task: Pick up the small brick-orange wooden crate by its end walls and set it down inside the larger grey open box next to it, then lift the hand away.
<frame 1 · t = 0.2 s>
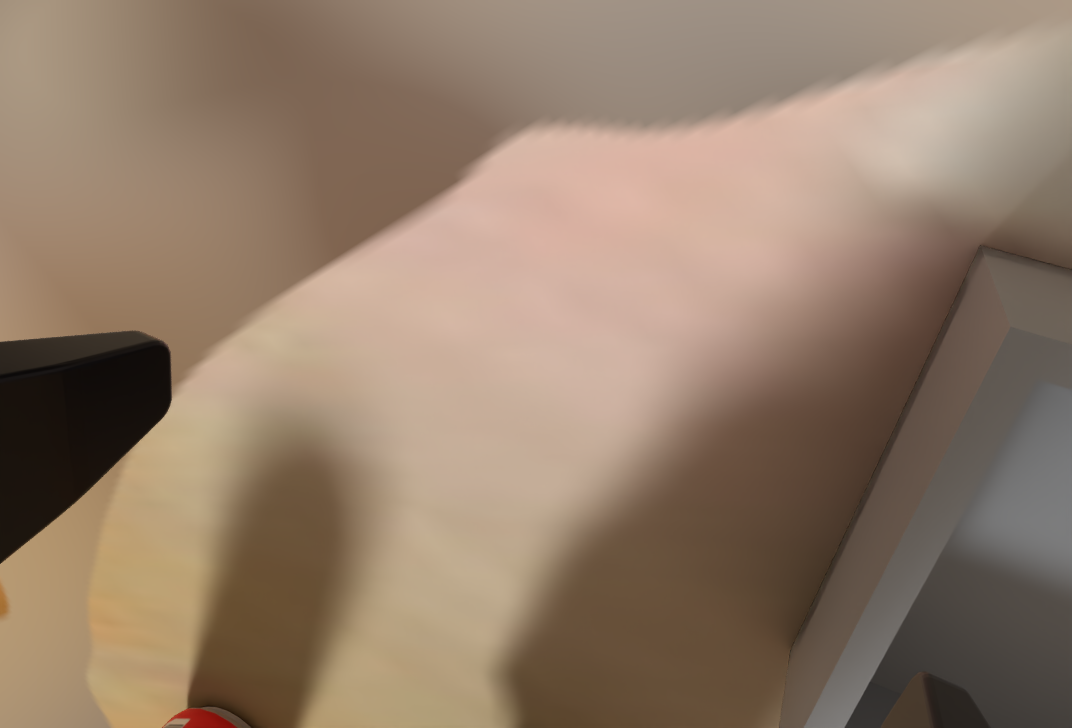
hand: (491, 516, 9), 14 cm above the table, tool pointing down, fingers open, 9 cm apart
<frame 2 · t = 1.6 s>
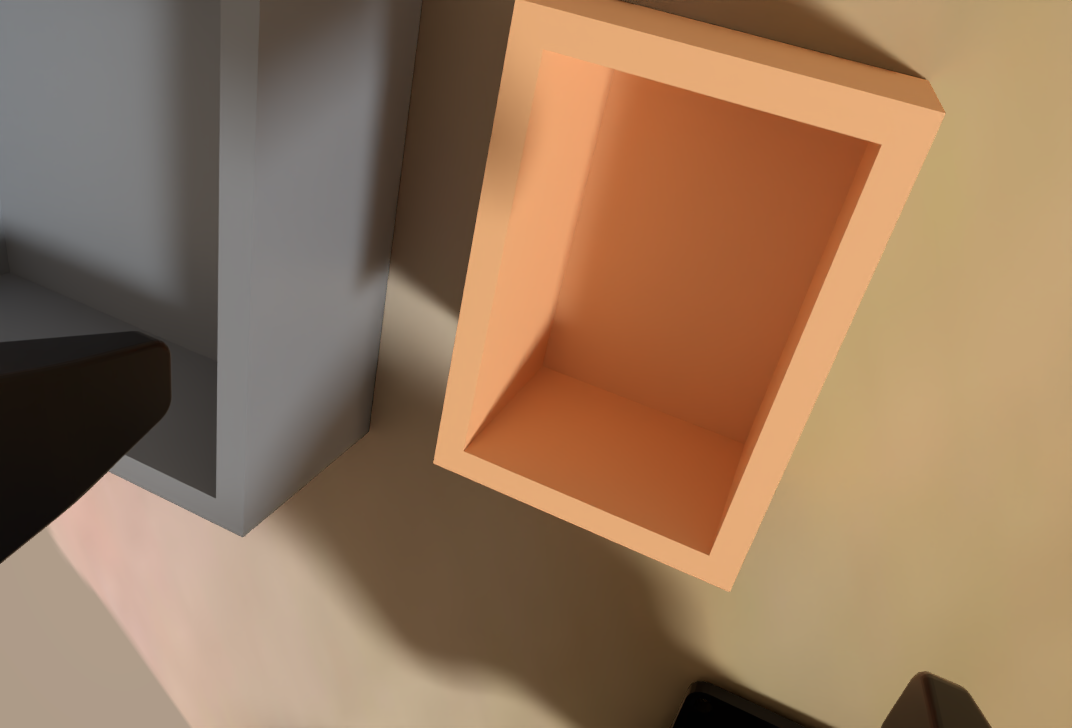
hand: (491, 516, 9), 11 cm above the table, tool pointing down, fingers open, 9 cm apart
orange crate: (693, 248, 18), on the table
grey open box: (177, 132, 22), on the table
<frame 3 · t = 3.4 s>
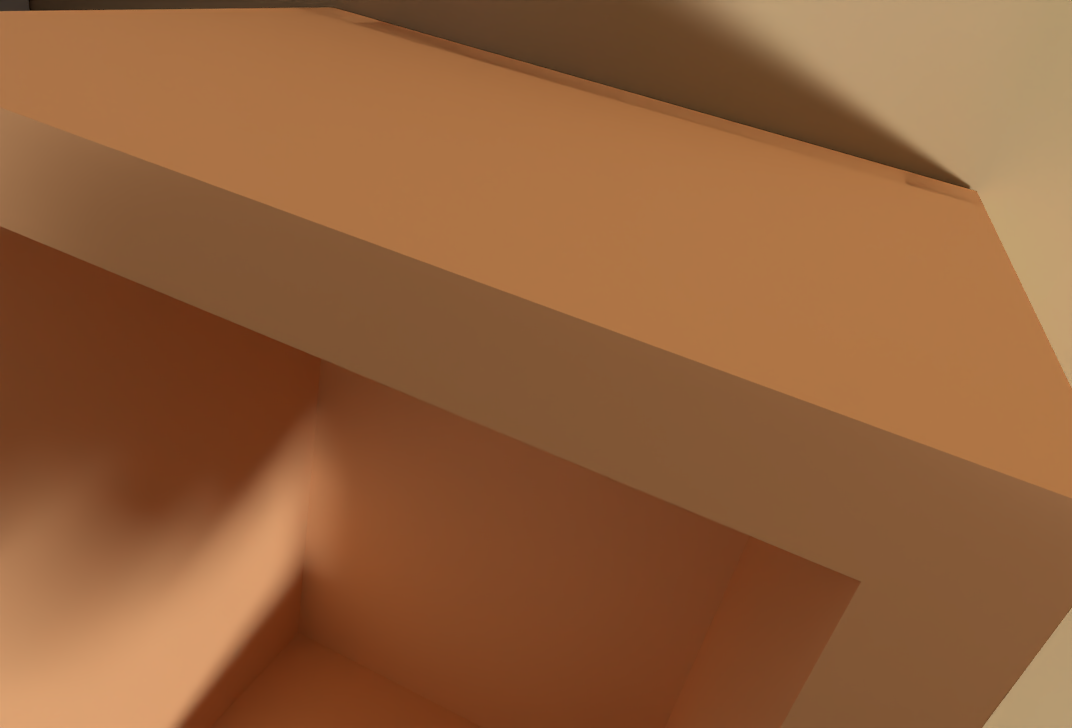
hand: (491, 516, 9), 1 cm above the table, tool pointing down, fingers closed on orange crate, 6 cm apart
orange crate: (527, 469, 10), on the table, touching gripper
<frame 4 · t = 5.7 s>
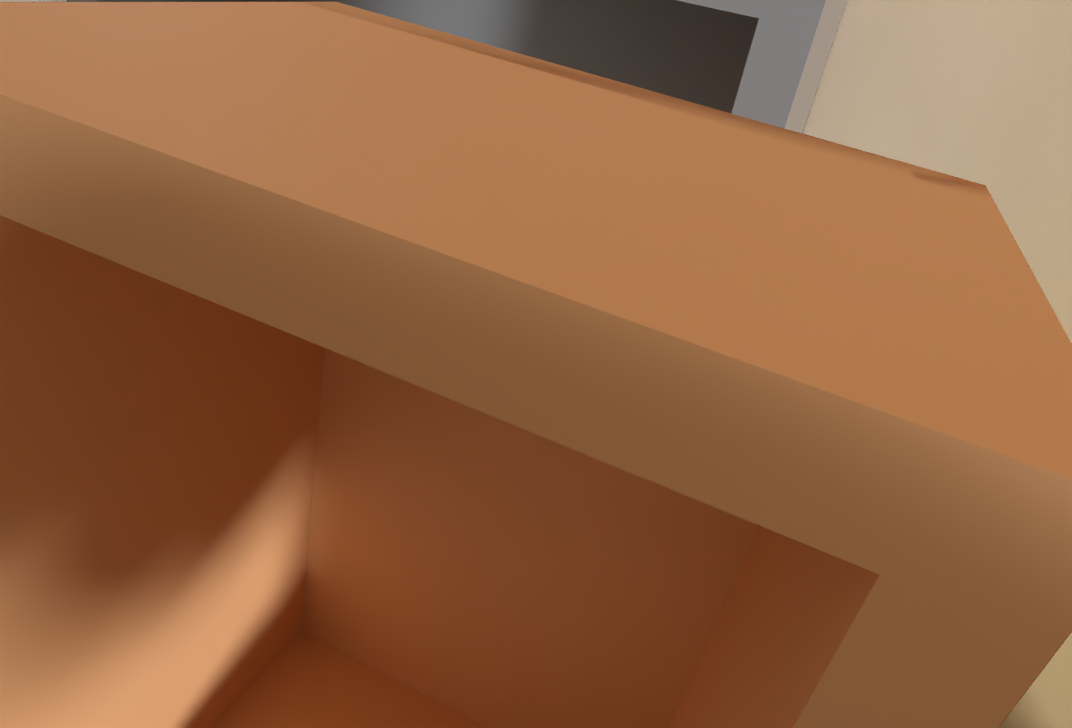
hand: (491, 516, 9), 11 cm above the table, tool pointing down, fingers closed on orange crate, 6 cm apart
orange crate: (531, 466, 10), point 10 cm above the table, touching gripper
grey open box: (476, 224, 20), on the table
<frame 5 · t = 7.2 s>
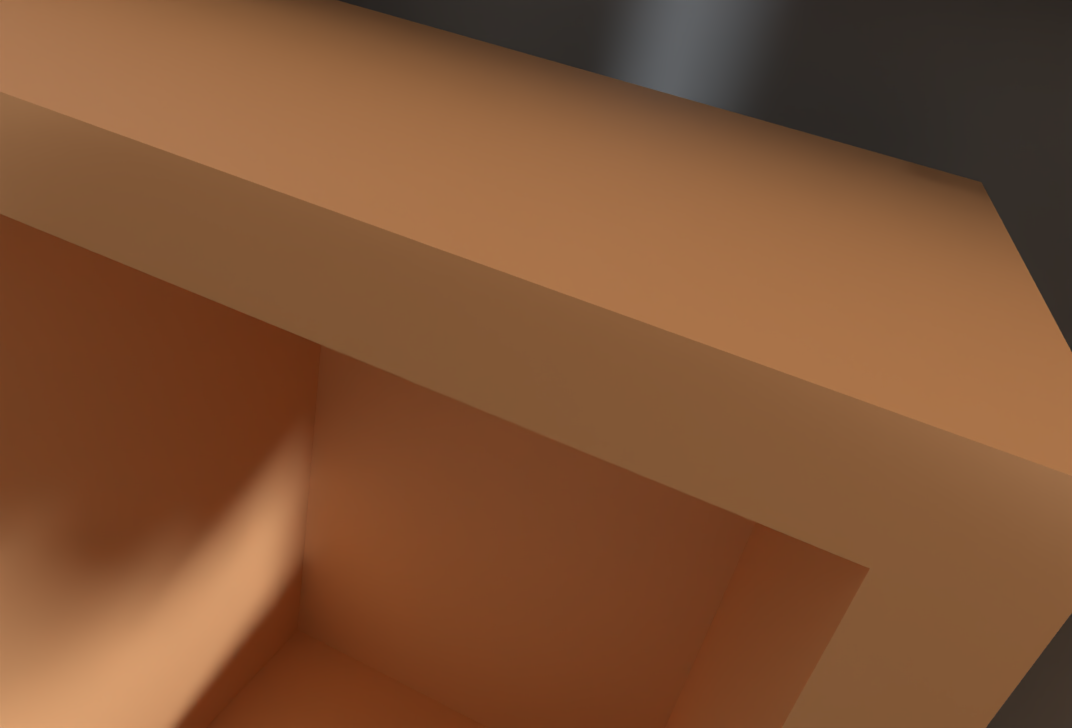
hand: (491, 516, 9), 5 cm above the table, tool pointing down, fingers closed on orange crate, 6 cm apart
orange crate: (527, 464, 10), point 4 cm above the table, touching gripper
grey open box: (613, 347, 13), on the table
when the fingers open (4 cm above the table, at t = 8.2 s): orange crate drops 2 cm, resting on grey open box.
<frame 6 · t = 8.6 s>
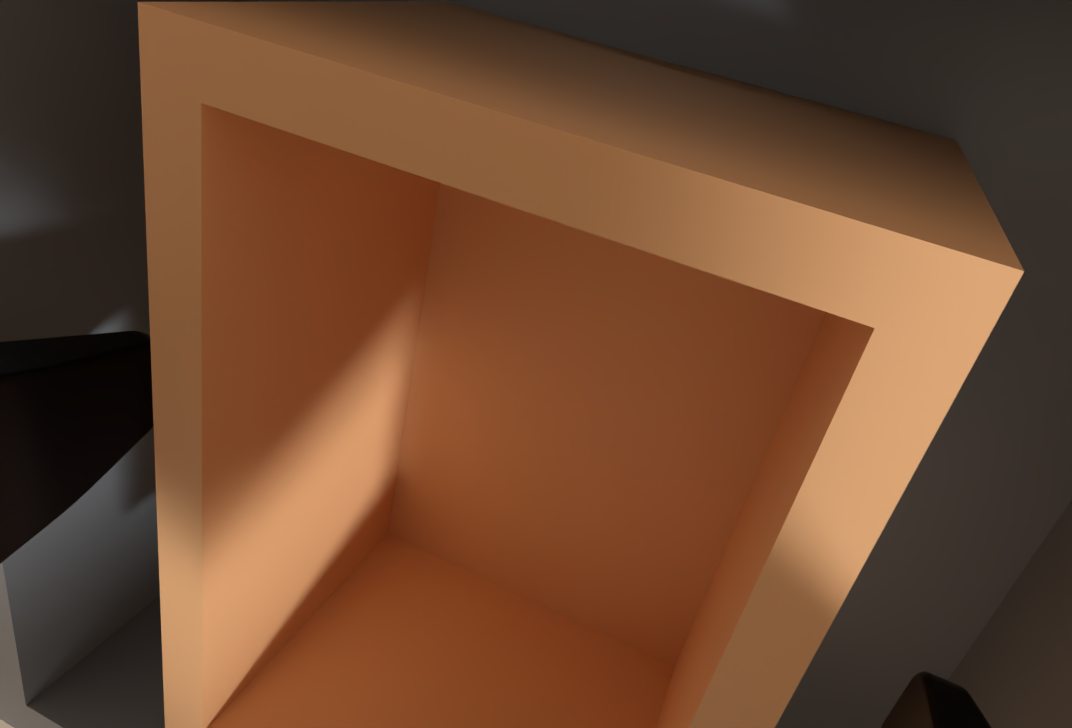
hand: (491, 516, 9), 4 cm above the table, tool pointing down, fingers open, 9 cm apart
orange crate: (591, 381, 12), point 1 cm above the table, touching grey open box
grey open box: (605, 363, 12), on the table
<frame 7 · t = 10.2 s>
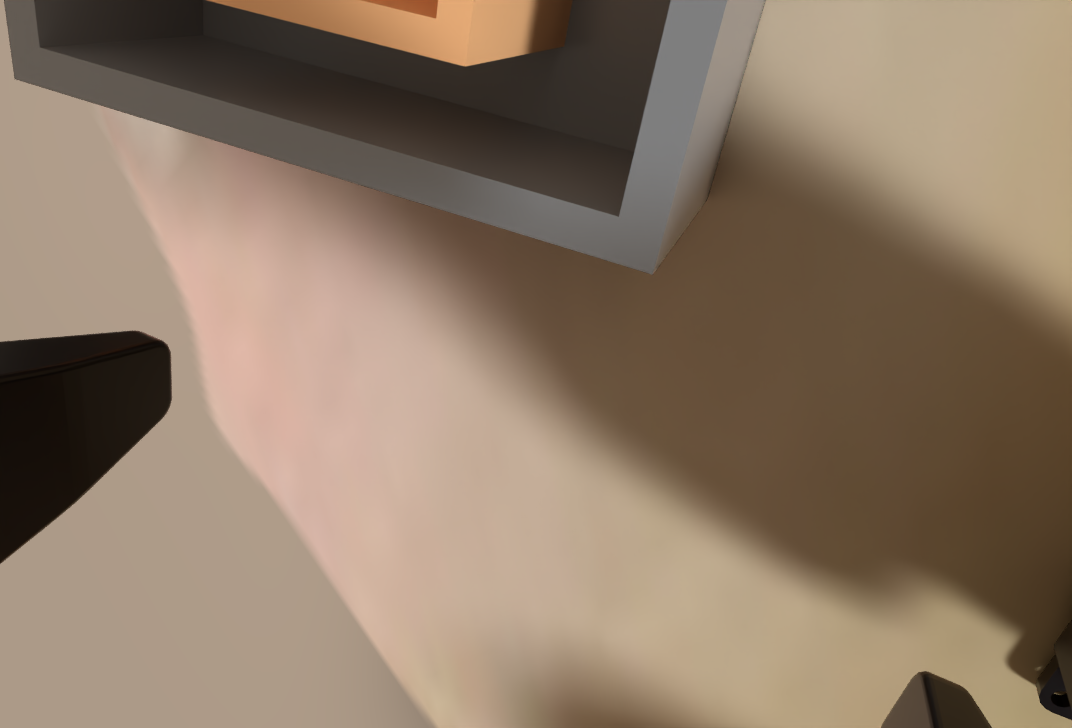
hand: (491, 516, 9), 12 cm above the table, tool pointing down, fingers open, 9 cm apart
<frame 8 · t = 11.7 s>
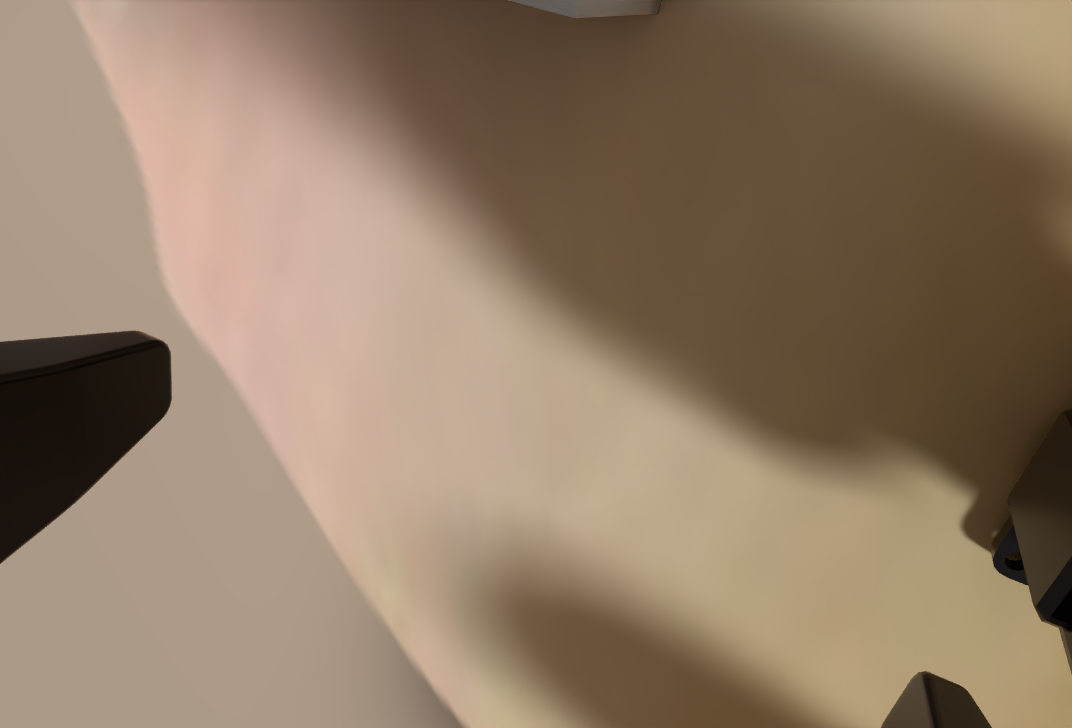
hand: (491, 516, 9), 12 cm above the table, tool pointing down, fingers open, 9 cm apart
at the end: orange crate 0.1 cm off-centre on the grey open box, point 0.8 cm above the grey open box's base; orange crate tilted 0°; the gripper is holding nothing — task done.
